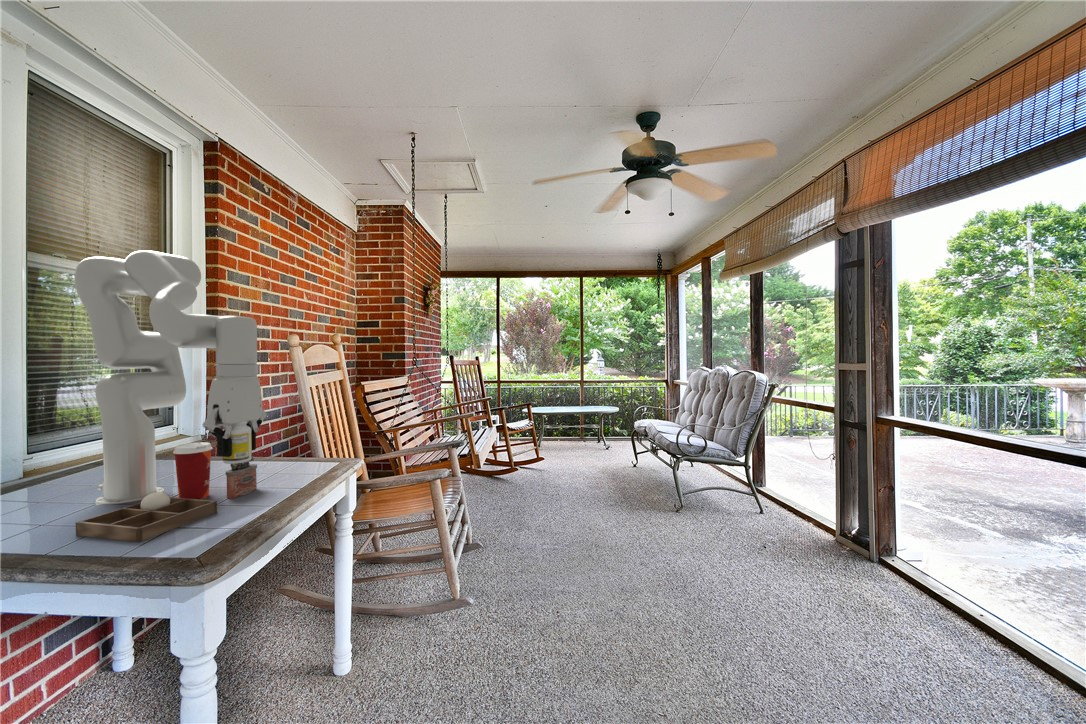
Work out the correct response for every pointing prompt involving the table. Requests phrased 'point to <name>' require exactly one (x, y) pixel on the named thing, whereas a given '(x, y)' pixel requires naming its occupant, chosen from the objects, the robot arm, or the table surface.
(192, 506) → the wooden compartment tray
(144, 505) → the white ball
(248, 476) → the lighter
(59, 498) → the table surface
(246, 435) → the supplement bottle
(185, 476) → the paper cup
